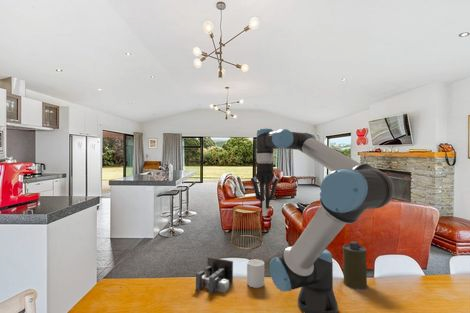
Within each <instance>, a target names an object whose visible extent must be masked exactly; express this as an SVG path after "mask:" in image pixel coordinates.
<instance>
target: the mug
mask: <svg viewBox="0 0 470 313" xmlns="http://www.w3.org/2000/svg"><path fill="white" fill-rule="evenodd" d="M246 265H247V266H246V283H247V284H246V285H247V286H248V285H249V286H248V287H250V288H252V287H253V289H260V287H261V288H263V287H264V285H265V262H264V261H263V260H262V259H257V258H256V259H255V258H254V259H253V258H252V259H250V260H247V261H246ZM262 286H263V287H262Z"/></svg>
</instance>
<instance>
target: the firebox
mask: <svg viewBox="0 0 470 313" xmlns="http://www.w3.org/2000/svg"><path fill="white" fill-rule="evenodd" d="M205 272H206V274H205ZM204 274H205V275H210V276H209V289H208V294H210V295H211V294H213V295H214V294H215V292H216V290H215V279H216V278H217V277H218V278H222V279H227V280H229V283H230V282H231V283H230V284H232V283H234V280H233V279H234V261H233V260H228V259H225V258H224V259H223V258H218V257H214V256H213V257H212V256H207V265H206V267H204V270H200V271H198V272H196V274H195V290H197V291H201V290H202V289H203V287H202V276H203V275H204Z"/></svg>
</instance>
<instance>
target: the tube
mask: <svg viewBox="0 0 470 313" xmlns="http://www.w3.org/2000/svg"><path fill="white" fill-rule="evenodd" d="M209 276H210V275H206V274H205V273H204V275H203V276H202V288H204V289H208V290H209ZM228 290H230V282H229V280H227V279H222V278H218V277H217V278H216V279H215V292H220V293H225V294H226V293H227V291H228Z"/></svg>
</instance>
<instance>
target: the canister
mask: <svg viewBox="0 0 470 313" xmlns="http://www.w3.org/2000/svg"><path fill="white" fill-rule="evenodd" d="M342 257H343V258H342V260H343V264H342V265H343V266H342V267H343V285H345V286H346V287H348V288H349V289H353V290H361V291H362V289H363V290H365V289H367V288H368V284H367V283H368V282H367V280H368V279H367V274H368V272H367V248H366V247H364V246H362V245H361V244H359V242H358V241H353V240H352V241H350V242H349V244H344V245H342Z"/></svg>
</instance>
